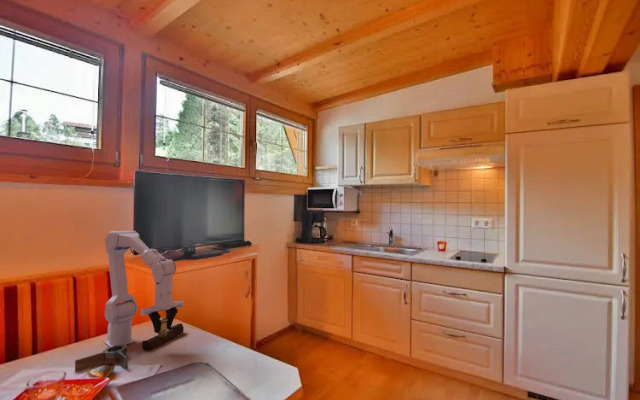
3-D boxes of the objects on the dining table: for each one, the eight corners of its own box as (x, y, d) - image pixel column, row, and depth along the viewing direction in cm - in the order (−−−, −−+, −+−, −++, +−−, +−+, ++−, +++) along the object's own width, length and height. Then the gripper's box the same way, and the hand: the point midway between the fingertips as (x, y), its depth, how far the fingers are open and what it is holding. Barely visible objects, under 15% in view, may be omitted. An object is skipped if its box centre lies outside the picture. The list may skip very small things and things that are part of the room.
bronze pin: (155, 335, 111) (155, 319, 111) (165, 332, 114) (165, 316, 114) (159, 338, 109) (159, 321, 109) (170, 334, 112) (170, 318, 112)
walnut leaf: (72, 368, 99) (73, 357, 99) (122, 353, 110) (122, 343, 110) (77, 374, 95) (78, 363, 95) (128, 358, 106) (129, 348, 106)
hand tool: (148, 352, 111) (149, 339, 111) (140, 350, 112) (141, 338, 113) (188, 334, 128) (188, 322, 129) (181, 332, 130) (181, 321, 130)
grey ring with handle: (100, 359, 105) (101, 349, 105) (122, 353, 110) (122, 343, 110) (114, 372, 96) (115, 361, 96) (137, 365, 101) (137, 354, 101)
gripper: (146, 299, 104) (145, 339, 103) (187, 291, 115) (187, 327, 114) (138, 295, 109) (137, 334, 108) (179, 288, 120) (178, 323, 119)
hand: (162, 330), depth 111 cm, fingers closed on bronze pin, 4 cm apart
